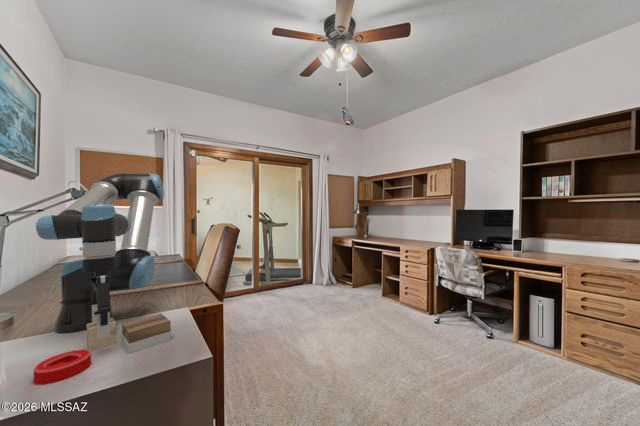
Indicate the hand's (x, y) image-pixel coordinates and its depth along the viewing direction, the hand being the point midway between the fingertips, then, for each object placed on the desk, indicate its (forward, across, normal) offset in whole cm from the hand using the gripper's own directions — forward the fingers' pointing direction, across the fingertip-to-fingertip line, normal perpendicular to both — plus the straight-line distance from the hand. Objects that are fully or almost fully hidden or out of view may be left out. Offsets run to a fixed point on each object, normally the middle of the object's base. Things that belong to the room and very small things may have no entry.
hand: (100, 330), depth 75 cm
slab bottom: (+4, +8, +9) cm, 13 cm away
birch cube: (+4, 0, 0) cm, 4 cm away
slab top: (+2, +8, +10) cm, 13 cm away
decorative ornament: (+5, +12, -8) cm, 15 cm away
